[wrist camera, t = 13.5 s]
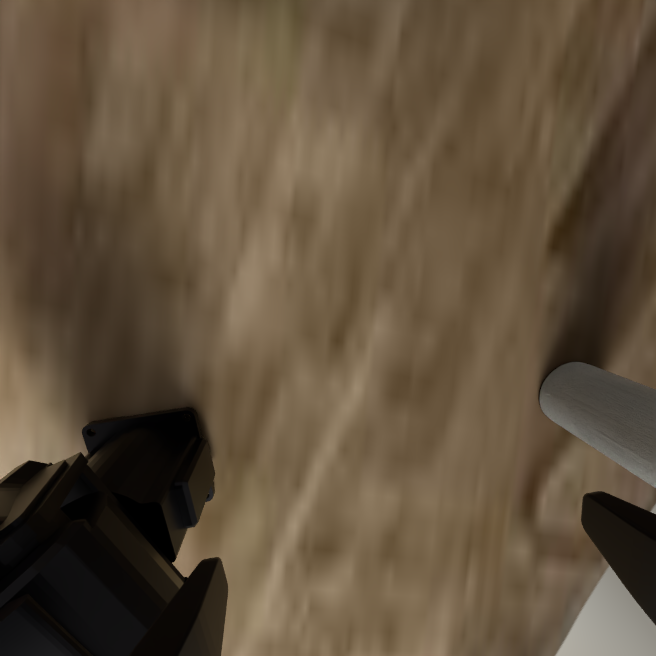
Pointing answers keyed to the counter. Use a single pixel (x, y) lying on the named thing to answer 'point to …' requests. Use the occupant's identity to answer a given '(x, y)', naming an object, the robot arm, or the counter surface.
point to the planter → (605, 414)
